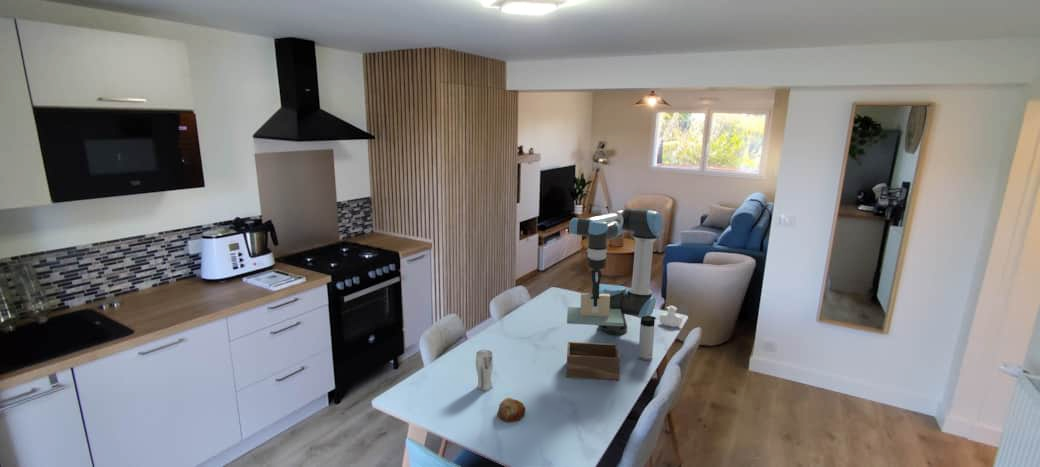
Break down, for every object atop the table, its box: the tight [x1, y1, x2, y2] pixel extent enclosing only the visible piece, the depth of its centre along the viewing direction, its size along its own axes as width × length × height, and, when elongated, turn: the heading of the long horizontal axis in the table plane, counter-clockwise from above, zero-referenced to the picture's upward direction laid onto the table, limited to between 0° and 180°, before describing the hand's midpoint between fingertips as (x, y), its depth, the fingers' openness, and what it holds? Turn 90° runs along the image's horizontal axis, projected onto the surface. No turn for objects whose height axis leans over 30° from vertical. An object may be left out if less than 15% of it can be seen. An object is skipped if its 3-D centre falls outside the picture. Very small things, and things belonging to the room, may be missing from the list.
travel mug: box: [638, 315, 657, 361], centre depth 222 cm, size 6×7×20 cm
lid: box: [566, 292, 624, 326], centre depth 205 cm, size 15×23×10 cm, turn 83°
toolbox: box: [566, 341, 621, 382], centre depth 210 cm, size 14×22×10 cm, turn 83°
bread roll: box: [497, 397, 526, 423], centre depth 179 cm, size 10×10×8 cm
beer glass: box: [475, 349, 494, 392], centre depth 196 cm, size 7×7×15 cm
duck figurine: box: [658, 305, 683, 328], centre depth 261 cm, size 12×8×11 cm
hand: (594, 311), depth 206 cm, fingers closed on lid, 3 cm apart
